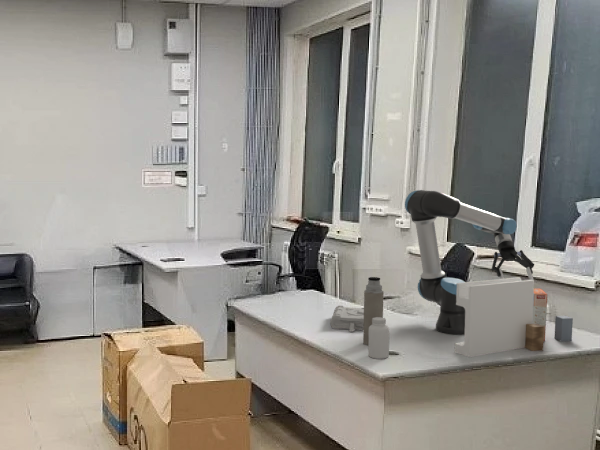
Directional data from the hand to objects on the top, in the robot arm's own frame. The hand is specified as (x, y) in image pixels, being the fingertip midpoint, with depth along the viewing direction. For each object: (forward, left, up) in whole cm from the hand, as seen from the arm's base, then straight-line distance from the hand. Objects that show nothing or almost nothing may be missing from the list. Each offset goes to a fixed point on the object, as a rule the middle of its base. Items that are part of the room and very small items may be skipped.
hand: (517, 281), depth 287 cm
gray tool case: (-76, +13, -23) cm, 80 cm away
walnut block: (-12, -35, -22) cm, 43 cm away
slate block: (+9, -23, -22) cm, 33 cm away
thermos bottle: (-76, -19, -22) cm, 81 cm away
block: (-28, -33, -22) cm, 49 cm away
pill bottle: (-79, -37, -22) cm, 90 cm away
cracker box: (-1, -18, -22) cm, 29 cm away
